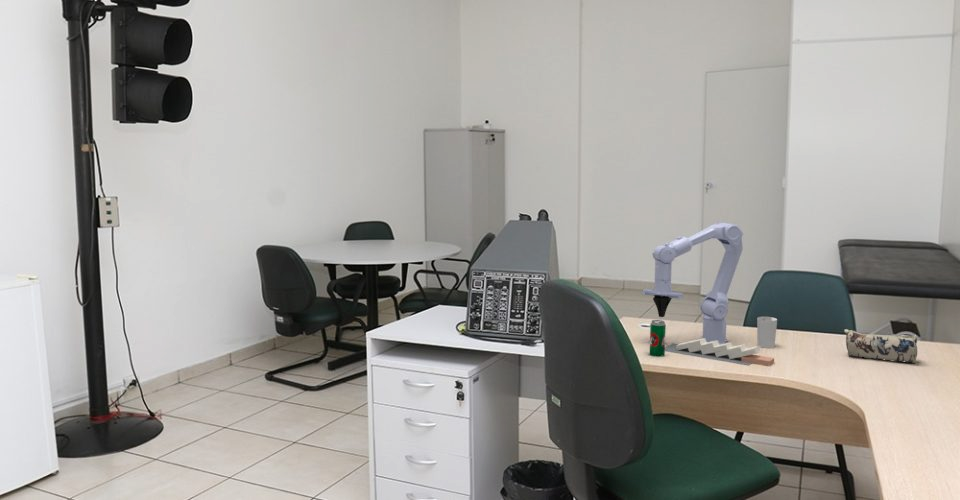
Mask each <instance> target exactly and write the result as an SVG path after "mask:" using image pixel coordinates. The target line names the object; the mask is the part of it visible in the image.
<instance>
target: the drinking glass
mask: <svg viewBox="0 0 960 500" xmlns="http://www.w3.org/2000/svg"><path fill="white" fill-rule="evenodd" d="M756 320H757V321H756V323H757V324H756V325H757V327H756V328H757V333H756V334H757V337H756V338H757V340H756V341H757V342H756V343H757V345H756V346H759V347H760V348H766V349H773V348H775V346H776V345H775V344H776V335H777V328H778V327H777V325H778V319H777V318H775V317H772V316H771V317H770V316H758V317H757V319H756Z"/></svg>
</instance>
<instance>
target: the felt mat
mask: <svg viewBox="0 0 960 500" xmlns="http://www.w3.org/2000/svg"><path fill="white" fill-rule="evenodd" d="M679 344H680V343H671V344H669V345H667V346H665V352H667V353H674V354H680V355H684V356H685V355H686V356H691V357H697V358H701V359H708V360H715V361H719V362H720V361H721V362H725V363H731V364H737V365H743V366H751V365H752V364H753V363H748V362H742V361H741V358H742V357H738V358H733V359H730V358H729V355H724V356H719V357H716V355H715V352H713V353H708V354H703V355H702V352H701V350H699V351H694V352H689V349H688V348H686V349H681V350H677V348H676V345H679Z"/></svg>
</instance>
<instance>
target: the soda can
mask: <svg viewBox="0 0 960 500" xmlns="http://www.w3.org/2000/svg"><path fill="white" fill-rule="evenodd" d="M649 328H650V329H649V355H650V356H653V357H664V356H665V355H666V354H665V352H666V351H665V347H666V323H665V321H664V320H661V319H654V320H651V321H650V326H649Z"/></svg>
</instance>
